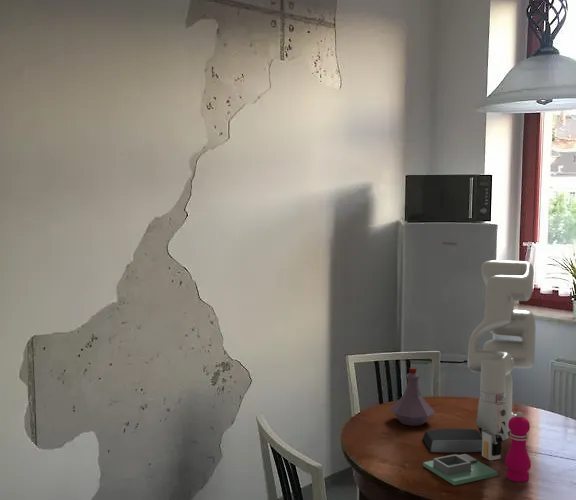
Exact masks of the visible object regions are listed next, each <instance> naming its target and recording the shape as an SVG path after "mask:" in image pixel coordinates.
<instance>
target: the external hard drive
mask: <svg viewBox="0 0 576 500" xmlns="http://www.w3.org/2000/svg"><path fill="white" fill-rule="evenodd" d="M422 440H423V441H424V443H425V445H426V446H427V448H428V449H429V451H430V452H431V453H479V452H481V453H482V437H481V433H480V431H479V430H478V429H471V428H470V429H469V428H437V429H429V430H428V429H427V430H426V431H424V433H423V437H422Z"/></svg>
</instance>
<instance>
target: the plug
mask: <svg viewBox="0 0 576 500" xmlns="http://www.w3.org/2000/svg"><path fill="white" fill-rule="evenodd" d="M497 438H499V435H498V436H497ZM492 443H494V441H493V434H492V433H490V432H488V431H483V432H482V452H481V456H482V457H483V458H484V459H487V460H488V461H495V460H499V459H501V457H502V456H501V455H502V454H501V455H497V456H493V455H492Z"/></svg>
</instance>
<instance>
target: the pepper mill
mask: <svg viewBox="0 0 576 500" xmlns="http://www.w3.org/2000/svg"><path fill="white" fill-rule="evenodd" d="M515 414H516V416H515V417H512V418H511V419H510V420H509V423H508V427H509V429H510V431H509V438H510V439H511V440H510V442H511V443H510V446H509V450H508V452H507V453H506V456H505V458H504V459H505V460H504V465H505V467H506V468H507V469H506V478H507V479H508V480H510V481H512V482H517V483H523V482H524V483H525V482H527V481H529V479H530V477H529V476H530V473H529V470H530V469H531V468H532V467H531V466H532V464H531V463H532V461H531V458H530V456H529V453H528V451H527V445H526V444H527V440H528V438H529V437H528V435H529V434H528V432H529V431H530V428H531V427H530V425H531V424H530V422H529V420H528V419H527V418H526V417H523V413H522V412H521V411H517V412H516V413H515Z"/></svg>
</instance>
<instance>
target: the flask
mask: <svg viewBox="0 0 576 500" xmlns="http://www.w3.org/2000/svg"><path fill="white" fill-rule="evenodd" d="M408 368H409V370H408V371H409V373H407V374H405V378H406V379H407V382H406V388H405V390H404V394H403V395H401V397H400V398H399V399H398V400H397V401H396V402H395V403H394V404H393V405H392V406H391V407H389V409H390V411H391V412H392V413H393V414H394V416H395V417H396V418H397V420H398V421H399V422H400V423H401V424H402V425H407V426H411V427H415V426H422V425H423V424H426V423H427V421H428V420H429V419H431V418H432V416H433V415H434V414H436V411H435V410H434V409H433V408H432V407H431V406H430V404H428V402H427V401H426V400H425V398H424V397H423V396H422V394H421V390H420V387H419V379H420V375H419V374H418V373H417V368H416V367H413V366H412V367H408Z"/></svg>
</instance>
